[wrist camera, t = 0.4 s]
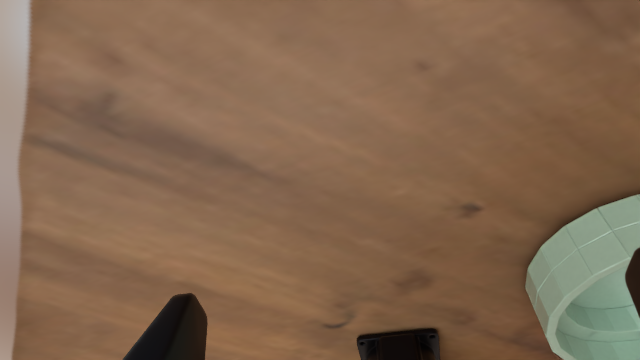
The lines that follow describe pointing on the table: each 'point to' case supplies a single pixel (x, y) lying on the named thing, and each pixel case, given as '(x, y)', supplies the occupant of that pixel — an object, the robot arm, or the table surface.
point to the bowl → (589, 285)
